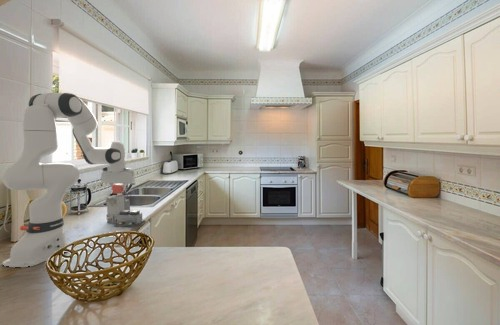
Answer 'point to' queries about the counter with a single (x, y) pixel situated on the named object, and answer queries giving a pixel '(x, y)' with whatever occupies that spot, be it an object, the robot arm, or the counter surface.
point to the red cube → (117, 188)
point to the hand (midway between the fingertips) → (118, 190)
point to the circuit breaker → (116, 206)
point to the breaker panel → (129, 220)
